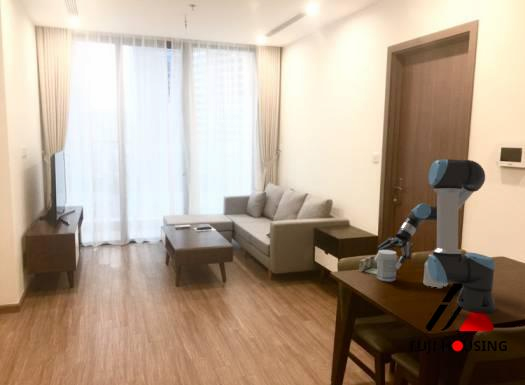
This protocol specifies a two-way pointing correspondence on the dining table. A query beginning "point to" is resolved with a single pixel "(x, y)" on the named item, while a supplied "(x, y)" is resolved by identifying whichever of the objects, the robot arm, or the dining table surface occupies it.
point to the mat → (372, 270)
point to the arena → (367, 263)
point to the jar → (429, 280)
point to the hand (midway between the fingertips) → (385, 264)
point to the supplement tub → (386, 265)
